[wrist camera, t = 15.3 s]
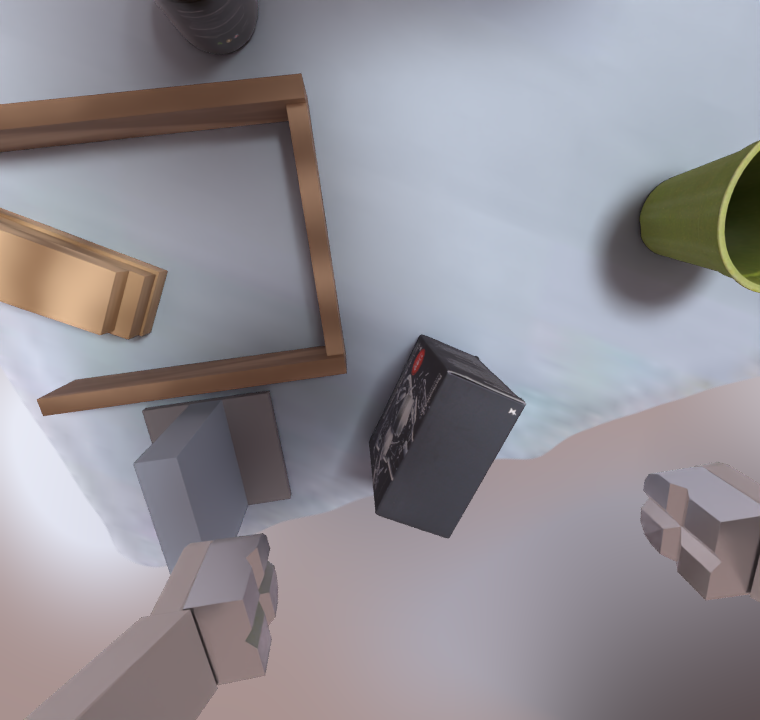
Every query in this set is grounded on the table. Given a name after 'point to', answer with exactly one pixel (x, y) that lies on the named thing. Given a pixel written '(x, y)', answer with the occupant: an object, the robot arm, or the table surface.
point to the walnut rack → (175, 115)
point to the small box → (438, 437)
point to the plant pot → (710, 217)
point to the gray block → (193, 481)
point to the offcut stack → (76, 279)
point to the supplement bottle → (213, 22)
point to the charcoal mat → (242, 441)
